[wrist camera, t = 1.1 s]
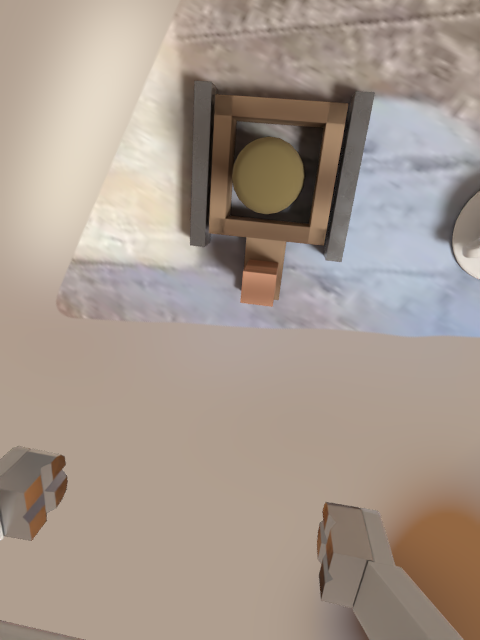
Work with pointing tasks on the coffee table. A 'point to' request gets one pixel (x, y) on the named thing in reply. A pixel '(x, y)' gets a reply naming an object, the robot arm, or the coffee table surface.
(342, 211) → the lane rails
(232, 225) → the frame
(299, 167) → the cork
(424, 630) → the robot arm
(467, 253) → the teacup
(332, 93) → the coffee table surface
